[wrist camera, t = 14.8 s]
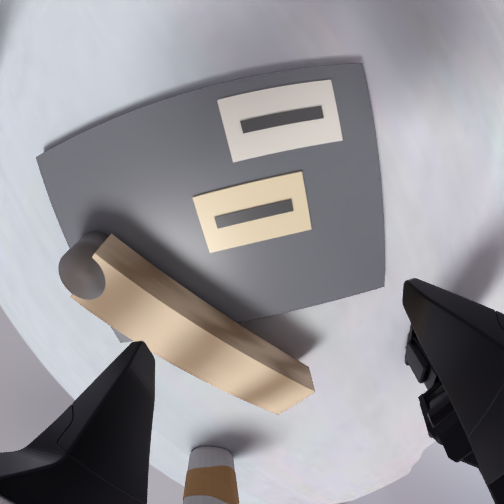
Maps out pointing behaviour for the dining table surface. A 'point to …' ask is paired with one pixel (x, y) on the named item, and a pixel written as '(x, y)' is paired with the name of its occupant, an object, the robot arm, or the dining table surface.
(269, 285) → the label panel
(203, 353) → the swing arm
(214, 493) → the coffee cup
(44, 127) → the dining table surface
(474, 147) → the dining table surface
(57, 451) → the robot arm
